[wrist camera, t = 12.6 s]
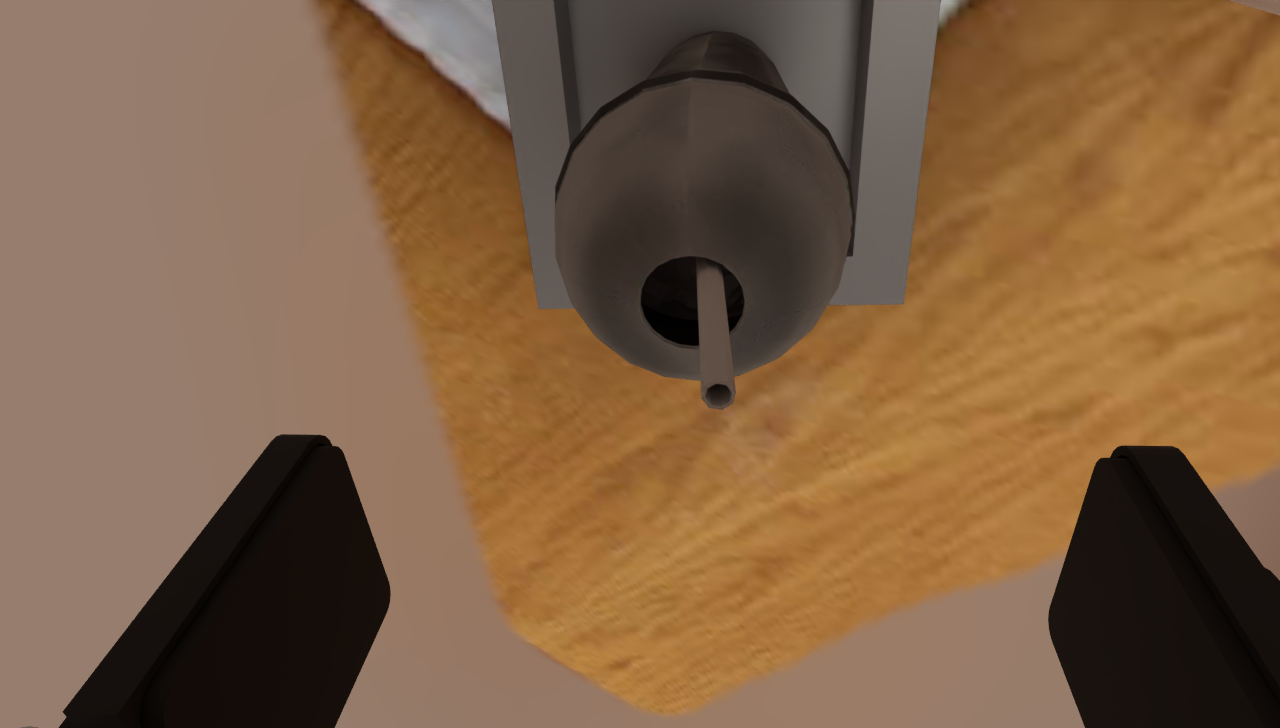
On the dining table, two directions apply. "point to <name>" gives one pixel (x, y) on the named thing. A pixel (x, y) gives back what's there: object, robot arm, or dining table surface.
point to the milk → (1262, 5)
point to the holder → (808, 64)
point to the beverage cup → (703, 217)
